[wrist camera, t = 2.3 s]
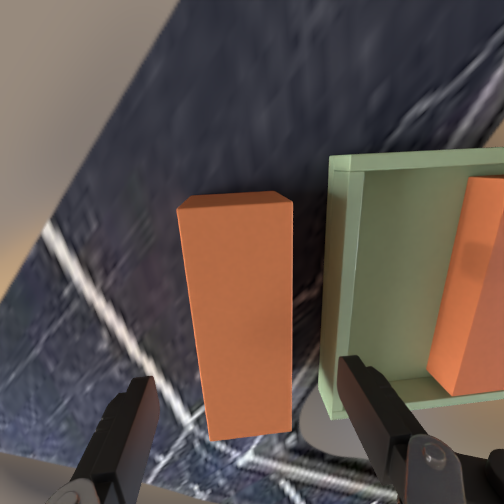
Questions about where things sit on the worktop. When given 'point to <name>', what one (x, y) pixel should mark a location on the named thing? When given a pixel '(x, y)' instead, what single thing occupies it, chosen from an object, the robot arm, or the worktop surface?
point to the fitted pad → (473, 296)
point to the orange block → (241, 308)
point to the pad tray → (393, 265)
